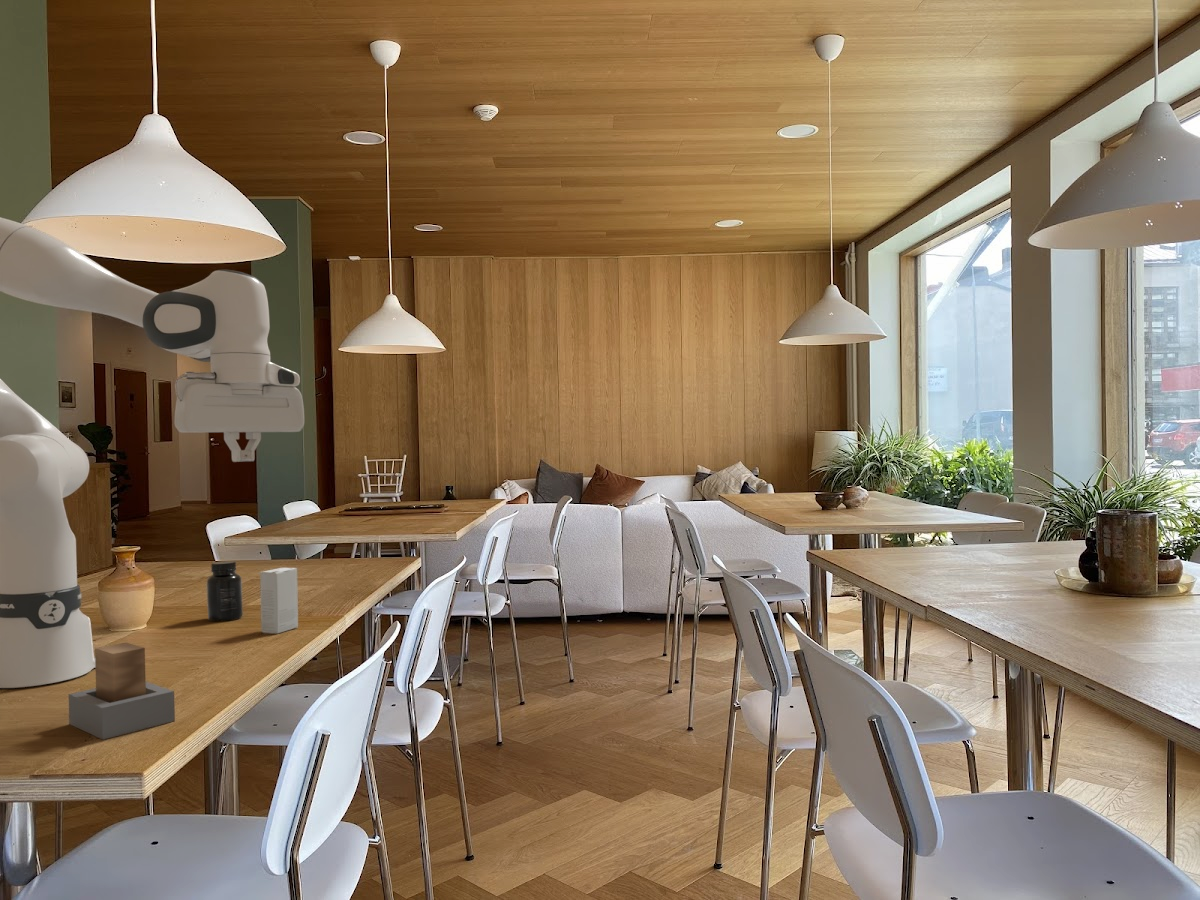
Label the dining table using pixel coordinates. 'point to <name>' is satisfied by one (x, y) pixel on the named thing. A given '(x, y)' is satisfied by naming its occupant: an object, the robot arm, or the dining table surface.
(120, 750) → the dining table surface
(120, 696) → the walnut peg
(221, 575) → the supplement bottle
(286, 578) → the skincare box
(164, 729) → the dining table surface
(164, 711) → the holder
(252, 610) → the dining table surface
